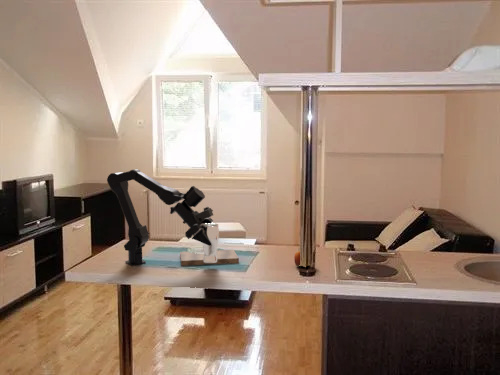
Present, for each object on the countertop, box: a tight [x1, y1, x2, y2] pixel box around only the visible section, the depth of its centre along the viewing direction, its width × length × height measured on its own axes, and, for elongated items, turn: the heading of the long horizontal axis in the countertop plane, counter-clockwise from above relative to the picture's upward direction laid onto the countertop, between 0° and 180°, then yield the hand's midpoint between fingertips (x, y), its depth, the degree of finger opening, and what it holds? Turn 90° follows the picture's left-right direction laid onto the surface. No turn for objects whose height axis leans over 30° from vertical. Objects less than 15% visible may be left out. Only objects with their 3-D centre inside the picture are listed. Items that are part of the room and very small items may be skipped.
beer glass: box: [201, 222, 220, 263], centre depth 192 cm, size 7×7×15 cm
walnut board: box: [179, 249, 240, 266], centre depth 207 cm, size 24×15×2 cm, turn 100°
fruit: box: [293, 250, 301, 268], centre depth 195 cm, size 8×8×8 cm
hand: (213, 243), depth 192 cm, fingers closed on beer glass, 6 cm apart
